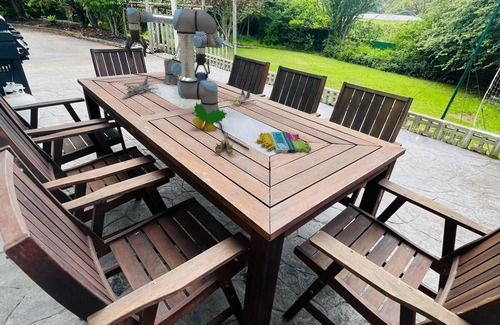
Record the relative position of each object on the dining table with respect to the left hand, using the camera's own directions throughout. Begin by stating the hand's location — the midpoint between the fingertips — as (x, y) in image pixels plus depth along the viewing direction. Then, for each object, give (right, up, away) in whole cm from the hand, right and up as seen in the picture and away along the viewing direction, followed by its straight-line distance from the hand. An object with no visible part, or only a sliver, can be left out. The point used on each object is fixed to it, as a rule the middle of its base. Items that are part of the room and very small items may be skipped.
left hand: (138, 57), depth 224 cm
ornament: (+71, -69, -59) cm, 115 cm away
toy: (+89, -39, -3) cm, 97 cm away
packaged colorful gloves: (+115, -79, -71) cm, 157 cm away
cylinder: (+55, -23, -1) cm, 59 cm away
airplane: (+1, -30, +1) cm, 30 cm away
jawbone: (+83, -84, -85) cm, 146 cm away
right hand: (+55, -22, -2) cm, 59 cm away
